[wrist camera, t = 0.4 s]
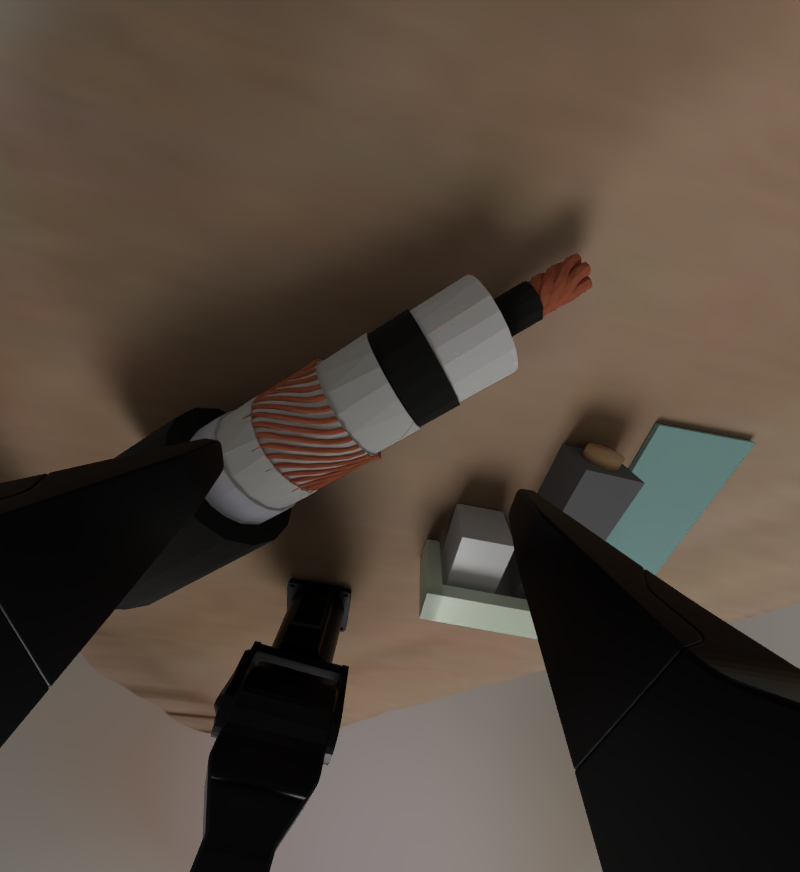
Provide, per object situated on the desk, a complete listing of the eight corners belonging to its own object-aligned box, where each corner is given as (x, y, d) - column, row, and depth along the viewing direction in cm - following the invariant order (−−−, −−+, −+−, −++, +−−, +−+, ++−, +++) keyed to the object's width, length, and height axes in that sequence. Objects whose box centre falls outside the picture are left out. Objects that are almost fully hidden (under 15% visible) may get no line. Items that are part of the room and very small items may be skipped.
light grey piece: (556, 586, 30) (584, 647, 25) (419, 562, 29) (419, 618, 24) (569, 564, 28) (601, 624, 23) (426, 538, 28) (427, 593, 23)
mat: (623, 609, 30) (625, 613, 30) (553, 597, 30) (555, 601, 30) (750, 440, 22) (755, 443, 22) (655, 422, 22) (659, 425, 22)
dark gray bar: (525, 596, 31) (539, 636, 27) (487, 587, 31) (495, 627, 27) (616, 444, 23) (651, 473, 20) (566, 433, 23) (592, 459, 20)
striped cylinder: (538, 310, 24) (639, 388, 17) (207, 503, 29) (184, 617, 23) (517, 154, 16) (679, 181, 10) (82, 450, 22) (-6, 596, 15)
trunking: (474, 583, 30) (481, 623, 27) (434, 576, 30) (435, 614, 26) (502, 511, 26) (515, 546, 23) (456, 503, 26) (462, 537, 23)
